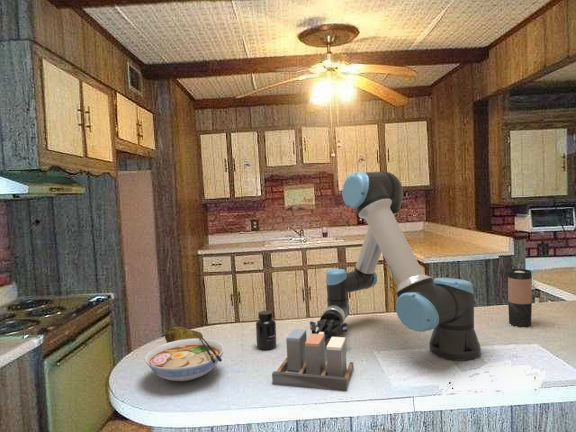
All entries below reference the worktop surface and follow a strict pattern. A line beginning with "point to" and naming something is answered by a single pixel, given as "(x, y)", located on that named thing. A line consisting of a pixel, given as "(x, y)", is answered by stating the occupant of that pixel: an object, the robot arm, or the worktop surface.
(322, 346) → the terracotta key
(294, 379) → the key bed
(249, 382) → the worktop surface
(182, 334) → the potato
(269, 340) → the supplement bottle
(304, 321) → the worktop surface
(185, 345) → the ramen bowl
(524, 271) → the travel mug
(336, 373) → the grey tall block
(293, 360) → the slate key
